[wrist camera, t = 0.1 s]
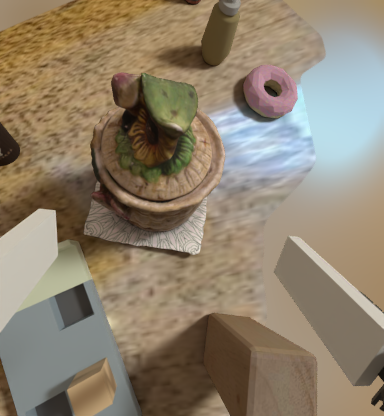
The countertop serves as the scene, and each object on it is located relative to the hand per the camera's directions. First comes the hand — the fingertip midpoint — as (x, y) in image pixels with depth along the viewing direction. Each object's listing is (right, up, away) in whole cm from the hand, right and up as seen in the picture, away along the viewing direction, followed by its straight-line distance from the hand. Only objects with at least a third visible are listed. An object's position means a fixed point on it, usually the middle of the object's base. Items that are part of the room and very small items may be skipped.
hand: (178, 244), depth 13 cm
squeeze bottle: (+6, +44, +49) cm, 67 cm away
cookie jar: (-8, +5, +37) cm, 39 cm away
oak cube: (-16, -27, +25) cm, 40 cm away
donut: (+22, +34, +50) cm, 64 cm away
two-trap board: (-23, -23, +28) cm, 42 cm away
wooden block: (+8, -26, +33) cm, 43 cm away
